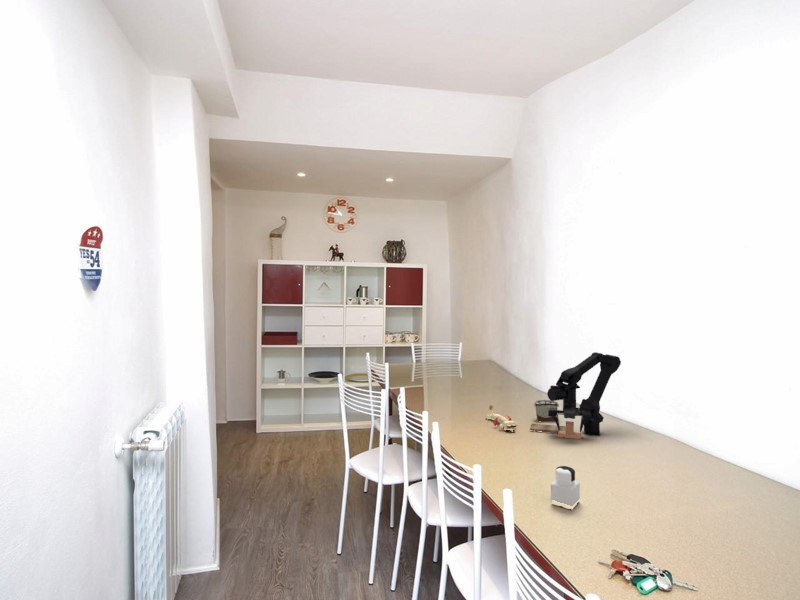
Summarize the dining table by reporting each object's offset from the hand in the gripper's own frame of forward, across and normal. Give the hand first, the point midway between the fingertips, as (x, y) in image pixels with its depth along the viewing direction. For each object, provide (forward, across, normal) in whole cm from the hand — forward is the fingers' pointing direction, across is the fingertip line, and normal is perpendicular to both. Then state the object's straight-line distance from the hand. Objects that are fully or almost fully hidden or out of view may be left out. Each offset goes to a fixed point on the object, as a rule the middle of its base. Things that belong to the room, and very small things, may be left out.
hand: (569, 431), depth 220 cm
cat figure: (+3, -33, +8) cm, 34 cm away
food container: (+3, -12, +22) cm, 26 cm away
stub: (+2, 0, 0) cm, 2 cm away
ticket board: (+2, -10, +6) cm, 12 cm away
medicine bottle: (+3, -1, -68) cm, 68 cm away
